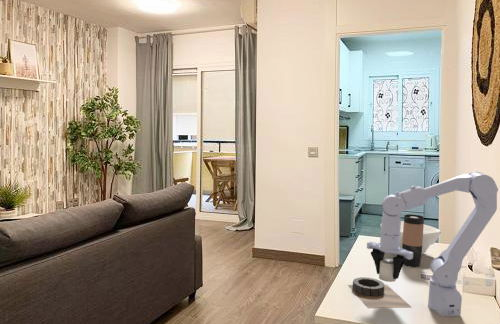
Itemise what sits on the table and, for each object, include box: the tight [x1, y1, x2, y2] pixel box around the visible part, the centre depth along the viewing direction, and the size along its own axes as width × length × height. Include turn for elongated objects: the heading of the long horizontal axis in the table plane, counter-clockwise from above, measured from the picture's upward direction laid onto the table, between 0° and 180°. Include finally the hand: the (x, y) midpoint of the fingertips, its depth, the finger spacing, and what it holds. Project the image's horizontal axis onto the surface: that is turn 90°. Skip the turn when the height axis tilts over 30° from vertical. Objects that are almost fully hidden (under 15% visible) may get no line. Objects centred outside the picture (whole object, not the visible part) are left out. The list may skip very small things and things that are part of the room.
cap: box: [378, 258, 397, 283], centre depth 132 cm, size 5×5×6 cm
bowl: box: [379, 220, 442, 255], centre depth 188 cm, size 22×22×12 cm
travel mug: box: [402, 214, 425, 268], centre depth 171 cm, size 8×8×20 cm
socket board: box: [347, 276, 412, 309], centre depth 136 cm, size 18×14×4 cm
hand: (387, 275), depth 132 cm, fingers closed on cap, 5 cm apart
